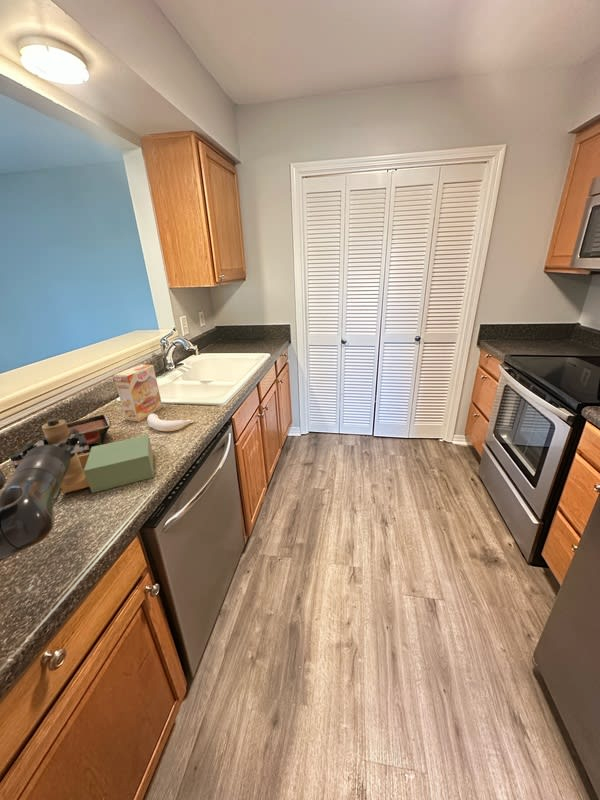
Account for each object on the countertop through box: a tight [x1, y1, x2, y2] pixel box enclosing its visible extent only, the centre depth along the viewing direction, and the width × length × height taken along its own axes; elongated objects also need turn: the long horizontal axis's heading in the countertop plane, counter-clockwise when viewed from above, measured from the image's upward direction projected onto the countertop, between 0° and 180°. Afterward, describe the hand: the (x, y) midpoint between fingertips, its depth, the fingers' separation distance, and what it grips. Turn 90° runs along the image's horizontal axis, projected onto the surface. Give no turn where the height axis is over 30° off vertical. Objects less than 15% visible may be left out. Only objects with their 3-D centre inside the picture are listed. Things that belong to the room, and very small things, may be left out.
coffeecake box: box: [113, 364, 163, 422], centre depth 134 cm, size 15×7×20 cm, turn 164°
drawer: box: [53, 452, 90, 499], centre depth 91 cm, size 18×13×5 cm
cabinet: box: [84, 434, 155, 494], centre depth 96 cm, size 16×14×7 cm
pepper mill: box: [41, 417, 85, 486], centre depth 75 cm, size 4×4×16 cm
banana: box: [146, 413, 195, 432], centre depth 126 cm, size 5×19×15 cm
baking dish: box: [66, 413, 112, 446], centre depth 114 cm, size 14×18×10 cm
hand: (62, 435), depth 76 cm, fingers closed on pepper mill, 4 cm apart
